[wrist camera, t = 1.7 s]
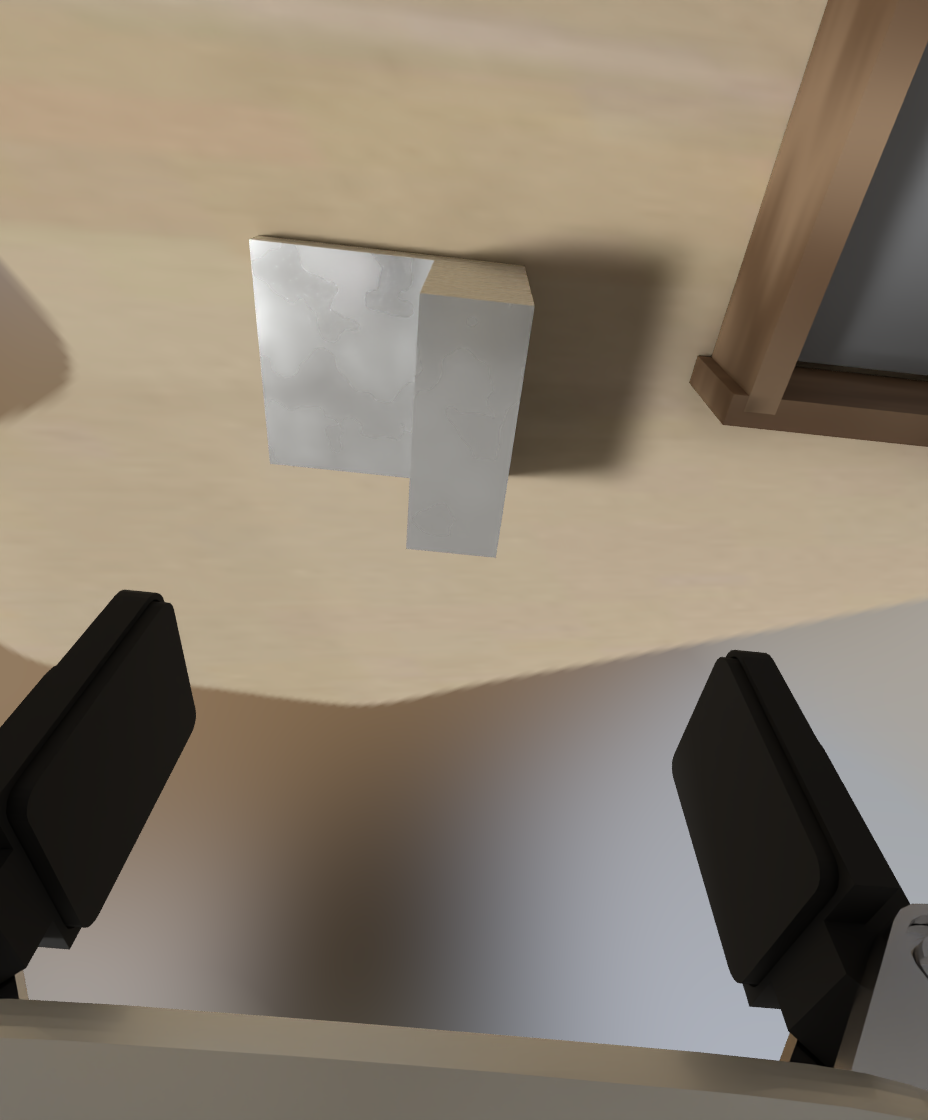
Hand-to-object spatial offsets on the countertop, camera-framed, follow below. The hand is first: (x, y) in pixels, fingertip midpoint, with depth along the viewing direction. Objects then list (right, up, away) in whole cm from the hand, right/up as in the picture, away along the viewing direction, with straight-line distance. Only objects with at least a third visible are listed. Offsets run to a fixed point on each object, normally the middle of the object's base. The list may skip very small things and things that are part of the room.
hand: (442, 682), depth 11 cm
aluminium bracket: (-2, +9, +12) cm, 16 cm away
